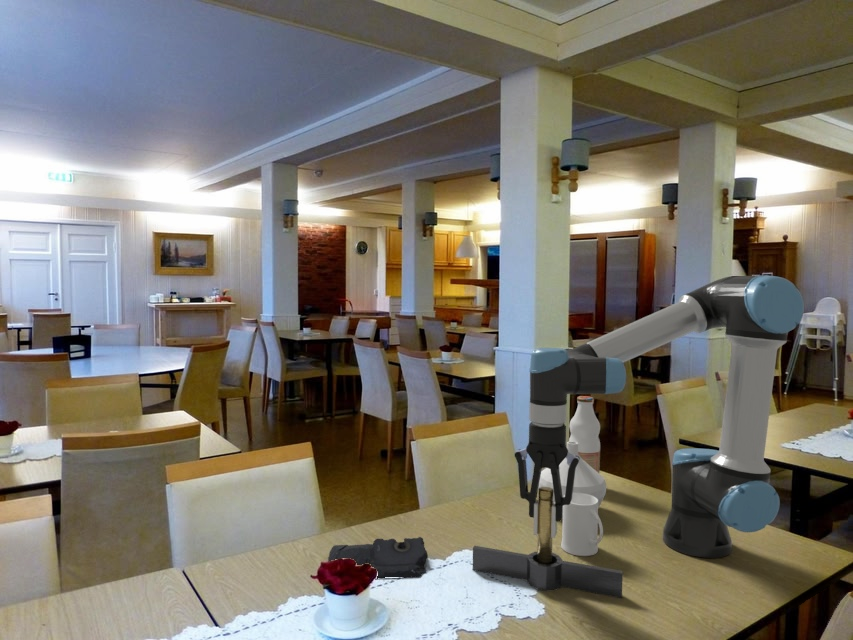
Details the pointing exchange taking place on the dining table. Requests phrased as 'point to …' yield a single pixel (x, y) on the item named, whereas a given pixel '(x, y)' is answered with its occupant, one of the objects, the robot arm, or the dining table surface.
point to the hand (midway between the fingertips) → (545, 533)
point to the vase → (577, 477)
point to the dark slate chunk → (387, 556)
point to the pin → (545, 524)
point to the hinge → (548, 571)
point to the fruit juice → (586, 432)
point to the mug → (581, 525)
